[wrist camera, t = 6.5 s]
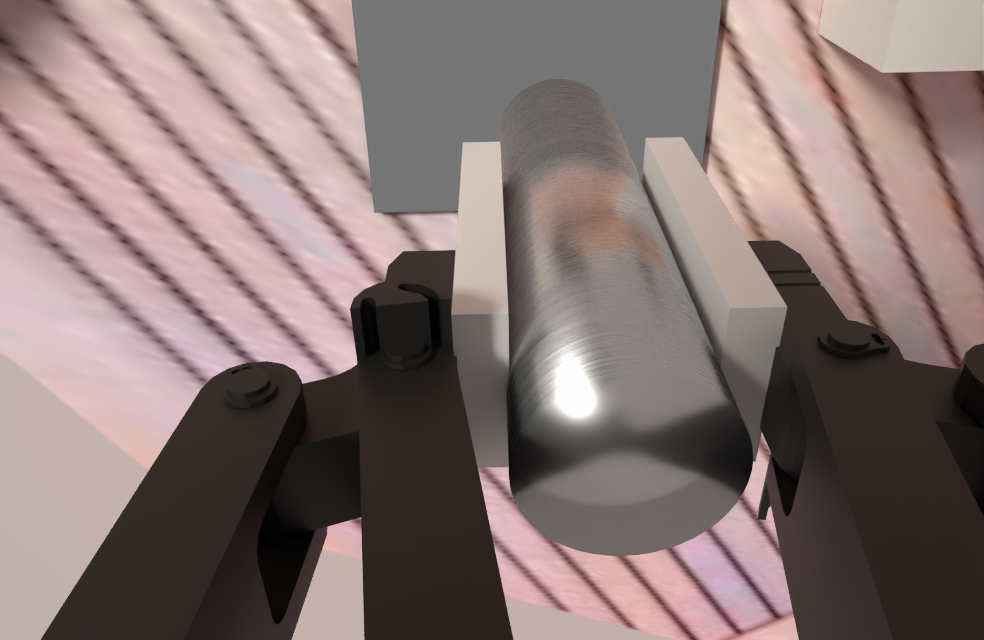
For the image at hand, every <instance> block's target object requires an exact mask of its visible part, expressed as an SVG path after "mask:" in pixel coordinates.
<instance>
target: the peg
mask: <svg viewBox="0 0 984 640" xmlns="http://www.w3.org/2000/svg"><path fill="white" fill-rule="evenodd" d="M497 142H500V147H501V167H502V188H503V209H504V230H505V251H506V272H507V293H508V314H509V378H508V383H507V391H506V407H507V434H508V461H509V480H510V488H511V491H512V495H513V498H514V500H515V502H516V504H517V506H518V508H519V510H520V511H521V513H522V514H523V516H524V517H525V518H526V519H527V520H528V521H529V522H530V523H531V525H532V526H533V527H535V528H536V529H537V530H538V531H540V532H541V533H542V534H543V535H545V536H547V537H548V538H550V539H552V540H554V541H555V542H558V543H560V544H562V545H564V546H567V547H570V548H573V549H576V550H579V551H583V552H588V553H592V554H600V555H611V556H627V555H639V554H646V553H652V552H656V551H660V550H664V549H668V548H670V547H673V546H676V545H679V544H682V543H684V542H686V541H688V540H690V539H693V538H695V537H696V536H698V535H700V534H701V533H703V532H705V531H707V530H708V529H709V528H711V527H712V526H713V525H715V524H716V523H718V522H719V521H720V520H721V519H722V518H723V517H724V516H725V515H726V514H727V513H728V512H729V511H730V510H731V509H732V508H733V507H734V505H735V504H736V503H737V501H738V500H739V498H740V497H741V495H742V494H743V492H744V490H745V488H746V486H747V484H748V481H749V478H750V475H751V471H752V464H753V446H752V442H751V438H750V434H749V432H748V430H747V427H746V425H745V423H744V420H743V418H742V416H741V413H740V411H739V409H738V406H737V404H736V401H735V399H734V397H733V394H732V392H731V390H730V387H729V385H728V383H727V380H726V378H725V376H724V373H723V371H722V369H721V366H720V364H719V362H718V359H717V357H716V355H715V352H714V350H713V348H712V345H711V343H710V341H709V338H708V336H707V334H706V331H705V329H704V327H703V324H702V322H701V320H700V317H699V315H698V313H697V310H696V308H695V306H694V303H693V301H692V299H691V296H690V294H689V291H688V289H687V287H686V284H685V282H684V280H683V277H682V275H681V273H680V270H679V268H678V266H677V263H676V261H675V259H674V256H673V254H672V252H671V249H670V247H669V245H668V242H667V240H666V238H665V235H664V233H663V231H662V228H661V226H660V224H659V221H658V219H657V217H656V214H655V212H654V210H653V207H652V205H651V203H650V200H649V198H648V196H647V193H646V191H645V189H644V186H643V184H642V181H641V179H640V177H639V174H638V172H637V170H636V167H635V165H634V163H633V160H632V158H631V156H630V153H629V151H628V149H627V146H626V144H625V142H624V139H623V137H622V135H621V132H620V130H619V128H618V125H617V123H616V121H615V118H614V116H613V114H612V111H611V109H610V107H609V106H608V104H607V103H606V101H605V100H604V99H603V98H602V96H601V95H600V94H598V93H597V92H596V91H595V90H594V89H592V88H591V87H589V86H587V85H585V84H583V83H581V82H577V81H574V80H569V79H549V80H544V81H541V82H538V83H535V84H533V85H531V86H529V87H527V88H525V89H524V90H523V91H521V92H520V93H519V94H518V95H516V96H515V97H514V98H513V99H512V101H511V102H510V103H509V104H508V106H507V107H506V109H505V110H504V112H503V114H502V116H501V119H500V122H499V125H498V130H497Z"/></svg>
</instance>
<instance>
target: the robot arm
mask: <svg viewBox="0 0 984 640" xmlns="http://www.w3.org/2000/svg"><path fill="white" fill-rule="evenodd" d="M642 184H643V186H644V189H645V191H646V193H647V196H648V198H649V200H650V203H651V205H652V207H653V210H654V212H655V214H656V217H657V219H658V221H659V224H660V226H661V228H662V231H663V233H664V235H665V238H666V240H667V242H668V245H669V247H670V249H671V252H672V254H673V256H674V259H675V261H676V263H677V266H678V268H679V270H680V273H681V275H682V277H683V280H684V282H685V284H686V287H687V289H688V291H689V294H690V296H691V299H692V301H693V303H694V306H695V308H696V310H697V313H698V315H699V317H700V320H701V322H702V324H703V327H704V329H705V331H706V334H707V336H708V338H709V341H710V343H711V345H712V348H713V350H714V352H715V355H716V357H717V359H718V362H719V364H720V366H721V369H722V371H723V373H724V376H725V378H726V380H727V383H728V385H729V387H730V390H731V392H732V394H733V397H734V399H735V401H736V404H737V406H738V409H739V411H740V413H741V416H742V418H743V420H744V423H745V425H746V427H747V430H748V432H749V434H750V438H751V442H752V446H753V461H756V456H757V452H758V447H759V442H760V437H761V432H762V433H763V435H764V438H765V440H766V442H767V444H768V446H769V449H770V451H771V455H770V459H769V464H768V468H767V473H766V478H765V482H764V487H763V491H762V496H761V500H760V505H759V512H758V519H762V520H766V516H767V511H768V508H769V507H770V506H771V508H772V512H773V517H774V522H775V527H776V532H777V536H778V541H779V546H780V551H781V556H782V560H783V565H784V570H785V575H786V580H787V584H788V589H789V594H790V599H791V604H792V609H793V613H794V618H795V623H796V628H797V633H798V637H799V640H984V344H980V345H975V346H973V347H972V348H971V349H970V350H969V351H967V352H966V353H965V356H964V359H963V362H962V364H961V367H960V370H959V369H953V368H947V367H941V366H934V365H928V364H922V363H917V362H912V361H908V360H904V358H903V356H902V354H901V352H900V350H899V348H898V347H897V345H896V344H895V343H894V342H893V341H892V340H891V338H890V337H889V336H887V335H885V334H884V333H882V332H880V331H879V330H877V329H875V328H874V327H871V326H868V325H865V324H862V323H859V322H856V321H850V320H847V319H846V318H845V316H844V315H843V313H842V312H841V311H840V309H839V308H838V306H837V305H836V304H835V302H834V301H833V299H832V298H831V297H830V295H829V294H828V292H827V291H826V290H825V288H824V287H823V286H821V285H820V284H821V283H820V281H819V280H818V278H817V277H816V276H815V274H814V273H811V269H810V267H809V266H808V264H807V263H806V262H805V260H804V259H803V258H802V256H801V255H800V254H799V253H797V252H796V251H794V250H793V249H791V248H789V247H788V246H786V245H785V244H783V243H781V242H780V241H747V240H746V239H745V237H744V235H743V234H742V232H741V231H740V229H739V227H738V226H737V224H736V222H735V221H734V219H733V217H732V216H731V214H730V213H729V211H728V209H727V208H726V206H725V204H724V203H723V201H722V200H721V198H720V196H719V195H718V193H717V191H716V190H715V188H714V187H713V185H712V183H711V182H710V180H709V178H708V177H707V175H706V173H705V172H704V170H703V169H702V167H701V165H700V164H699V162H698V160H697V159H696V157H695V156H694V154H693V152H692V151H691V149H690V147H689V146H688V144H687V143H686V141H685V139H684V138H683V137H668V138H646V140H645V152H644V163H643V175H642ZM350 311H351V318H352V325H353V333H354V340H355V347H356V354H357V365H356V366H354V367H353V368H352V369H350V370H347V371H345V372H343V373H341V374H339V375H336V376H333V377H329V378H326V379H322V380H318V381H313V382H309V383H305V384H302V382H301V379H300V378H299V376H298V374H297V373H296V371H295V370H293V369H291V368H289V367H288V366H286V365H284V364H279V363H273V362H267V361H266V362H254V363H246V364H241V365H238V366H235V367H232V368H229V369H227V370H225V371H223V372H222V373H220V374H218V375H216V376H214V377H213V378H211V379H210V381H209V382H208V383H207V384H206V385H205V386H204V387H203V388H202V389H201V390H200V392H199V393H198V395H197V396H196V398H195V400H194V401H193V403H192V404H191V406H190V407H189V409H188V410H187V412H186V414H185V415H184V417H183V418H182V420H181V421H180V423H179V425H178V426H177V428H176V429H175V431H174V432H173V434H172V435H171V437H170V439H169V440H168V442H167V443H166V445H165V446H164V448H163V450H162V451H161V453H160V454H159V456H158V457H157V459H156V460H155V462H154V464H153V465H152V467H151V468H150V470H149V471H148V473H147V475H146V476H145V478H144V479H143V481H142V483H141V484H140V485H139V487H138V489H137V490H136V492H135V494H134V495H133V496H132V498H131V500H130V501H129V503H128V504H127V506H126V507H125V509H124V510H123V512H122V514H121V515H120V517H119V518H118V520H117V521H116V523H115V524H114V526H113V528H112V529H111V531H110V532H109V534H108V535H107V537H106V539H105V540H104V542H103V543H102V545H101V546H100V548H99V549H98V551H97V553H96V554H95V556H94V557H93V559H92V560H91V562H90V564H89V565H88V567H87V568H86V570H85V571H84V573H83V574H82V576H81V578H80V579H79V581H78V582H77V584H76V585H75V587H74V588H73V590H72V592H71V593H70V595H69V596H68V598H67V600H66V601H65V603H64V604H63V606H62V607H61V609H60V610H59V612H58V613H57V615H56V617H55V618H54V620H53V621H52V623H51V624H50V626H49V628H48V629H47V631H46V632H45V634H44V635H43V637H42V639H41V640H291V639H292V636H293V633H294V631H295V628H296V624H297V622H298V618H299V615H300V613H301V610H302V607H303V604H304V601H305V598H306V595H307V592H308V589H309V586H310V583H311V580H312V577H313V574H314V571H315V568H316V565H317V562H318V559H319V556H320V553H321V551H322V548H323V545H324V542H325V539H326V536H327V526H331V525H334V524H338V523H341V522H345V521H348V520H352V519H356V518H359V517H361V522H362V560H363V597H364V632H365V633H364V636H365V640H513V636H512V631H511V626H510V622H509V617H508V612H507V607H506V603H505V597H504V592H503V588H502V583H501V578H500V573H499V568H498V564H497V559H496V554H495V549H494V544H493V539H492V535H491V530H490V525H489V520H488V515H487V510H486V506H485V501H484V496H483V491H482V486H481V481H480V477H479V472H478V468H479V467H509V461H508V434H507V407H506V391H507V383H508V378H509V314H508V293H507V272H506V251H505V230H504V209H503V188H502V167H501V147H500V142H463V147H462V162H461V177H460V192H459V207H458V222H457V237H456V250H447V251H404V252H402V253H401V254H400V255H399V256H398V257H397V258H396V259H395V260H394V261H393V262H392V263H391V264H390V265H389V266H388V270H387V275H386V279H385V282H382V283H378V284H376V285H374V286H371V287H369V288H367V289H364V290H363V291H362V292H361V293H360V294H358V295H357V296H356V297H355V298H354V299H353V302H352V305H351V308H350Z"/></svg>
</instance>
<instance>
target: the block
mask: <svg viewBox="0 0 984 640" xmlns="http://www.w3.org/2000/svg"><path fill="white" fill-rule="evenodd" d="M818 34H820V35H821V36H823V37H825V38H826V39H828V40H830V41H831V42H833V43H834V44H836V45H838V46H839V47H841V48H843V49H844V50H846V51H847V52H849V53H851V54H852V55H854V56H856V57H857V58H859V59H860V60H862V61H864V62H865V63H867V64H869V65H870V66H872V67H874V68H875V69H877V70H878V71H880V72H882V73H894V72H937V71H980V70H984V0H824V2H823V7H822V13H821V18H820V23H819V29H818Z"/></svg>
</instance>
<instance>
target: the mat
mask: <svg viewBox="0 0 984 640" xmlns="http://www.w3.org/2000/svg"><path fill="white" fill-rule="evenodd" d="M721 6H722V0H352V8H353V17H354V26H355V36H356V45H357V54H358V64H359V73H360V82H361V91H362V101H363V110H364V119H365V129H366V138H367V147H368V156H369V166H370V175H371V184H372V193H373V203H374V212H375V213H379V212H425V211H458V207H459V192H460V177H461V162H462V147H463V142H497V130H498V125H499V122H500V119H501V116H502V114H503V112H504V110H505V109H506V107H507V106H508V104H509V103H510V102H511V101H512V99H513V98H514V97H515V96H516V95H518V94H519V93H520V92H521V91H523V90H524V89H525V88H527V87H529V86H531V85H533V84H535V83H538V82H541V81H544V80H549V79H569V80H574V81H577V82H581V83H583V84H585V85H587V86H589V87H591V88H592V89H594V90H595V91H596V92H597V93H598V94H600V95H601V96H602V98H603V99H604V100H605V101H606V103H607V104H608V106H609V107H610V109H611V111H612V114H613V116H614V118H615V121H616V123H617V125H618V128H619V130H620V132H621V135H622V137H623V139H624V142H625V144H626V146H627V149H628V151H629V153H630V156H631V158H632V160H633V163H634V165H635V167H636V170H637V172H638V174H639V177H640V179H641V181H642V175H643V163H644V152H645V140H646V138H668V137H683V138H684V139H685V141H686V143H687V144H688V146H689V147H690V149H691V151H692V152H693V154H694V156H695V157H696V159H697V160H698V162H699V164H700V165H701V167H702V163H703V154H704V146H705V138H706V130H707V121H708V113H709V105H710V97H711V88H712V80H713V72H714V64H715V55H716V47H717V39H718V30H719V22H720V14H721Z"/></svg>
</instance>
